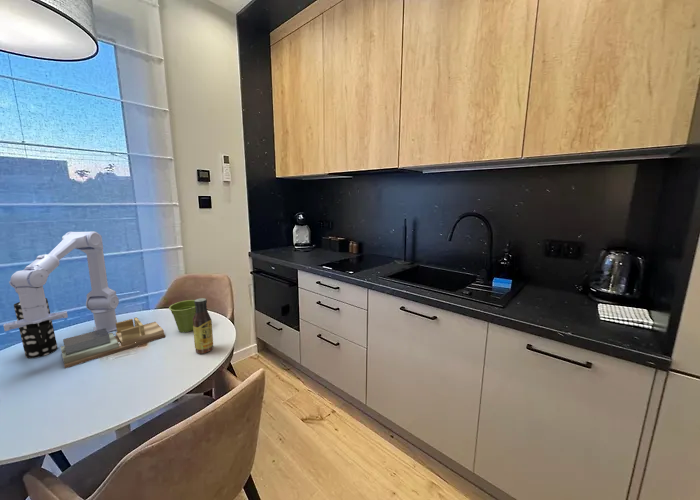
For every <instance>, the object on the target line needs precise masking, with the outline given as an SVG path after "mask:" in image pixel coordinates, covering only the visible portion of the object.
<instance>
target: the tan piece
mask: <svg viewBox="0 0 700 500" xmlns="http://www.w3.org/2000/svg"><path fill="white" fill-rule="evenodd" d="M116 328H117V330H116V332H115V335H114V334H113V332H108V334H109V337H110V342H109V343H105V344H102V345H98V346H95V347H91V348H88V349H84V350H81V351H77V352H74V353H71V354H67V355H66V351H65V346H64V345H63V346H62V345H61V346H60V351H61V356H62V360H63V365H64V369H68V368H71V367H74V366H77V365H81V364H83V363H88V362H91V361H92V360H93V361H94V360H97V359H100V358H103V357H106V356H109V355H112V354H116V353H119V352H122V351H125V350H127V349H128V350H129V349H132V348H135V347H138V346H141V344H142V343H145V344H147V343H151V342H154V341H157V340H161V339H163V338H166V334H165V331H164V328H162V327H161V326H160V324H158V323H157V322H156V321H153V322H149V323H146V324H143V323H142V322H141V321H140V319H139V318H137V317H134V318H130V319H127V320H122V321H117V323H116ZM118 342H120V343H121V346H119V344H118ZM135 342H136V343H135ZM142 345H143V344H142Z"/></svg>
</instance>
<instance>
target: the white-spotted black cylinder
mask: <svg viewBox="0 0 700 500" xmlns="http://www.w3.org/2000/svg"><path fill="white" fill-rule="evenodd" d="M45 299H46V303H47V308H48V313H49V314H50V313H51V310H50V305H49V301H48V298H47V297H45ZM13 309H14V313H15V317H16V321H18V320H22V319H24V317H23V313H22V308H21V304H20V301H19V302H16V303H14V304H13ZM49 322H50V325H49V327H48V330H47V333H46V337H45V344H41V345H39V342H38V341H37V339H36V338H35V337H34V336H33V335H32V334H31V333H30V332H29V331H28V330H27V328H26V326H24V327H20V328H18V329H19V334H20V338H21V342H22V347H23V351H24V355H25V358H26V359H37V358H40V357H45V356H47V355H50V354H53V353H54V352H56V351H57V350H58V343H57V338H56V334H55V329H54V324H53V320H51V321H49ZM38 328H39V323H38ZM39 333H40V336H41V332H40V328H39ZM41 339H42V337H41Z"/></svg>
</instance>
